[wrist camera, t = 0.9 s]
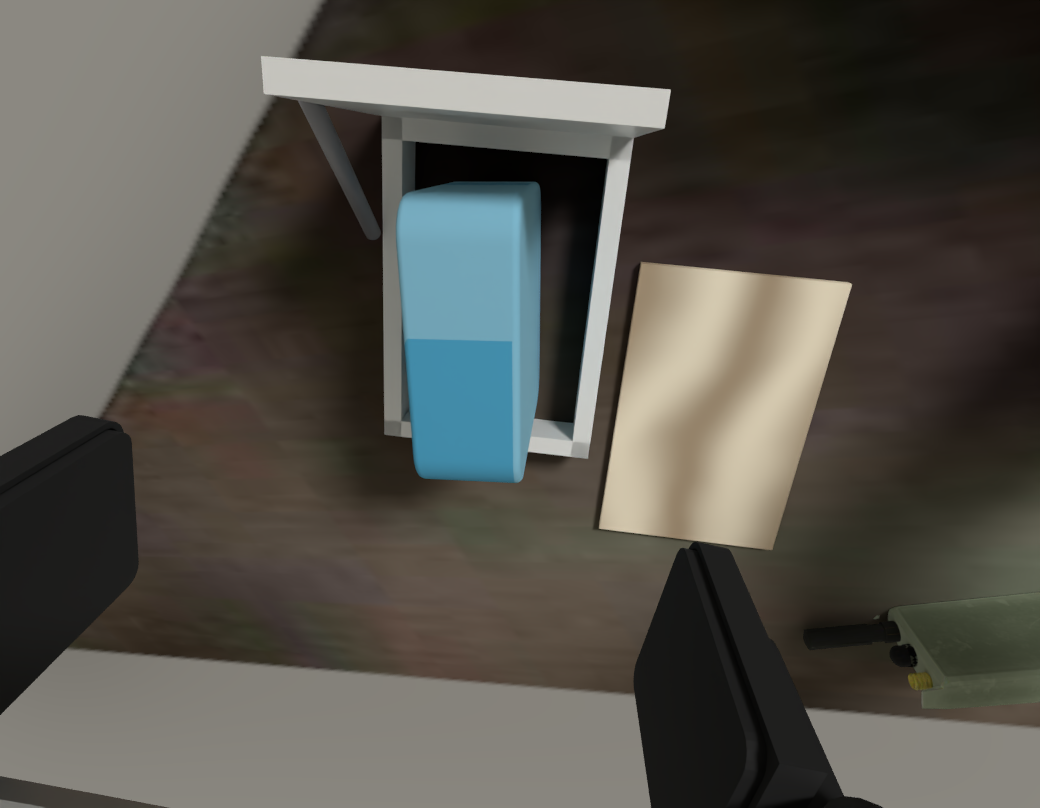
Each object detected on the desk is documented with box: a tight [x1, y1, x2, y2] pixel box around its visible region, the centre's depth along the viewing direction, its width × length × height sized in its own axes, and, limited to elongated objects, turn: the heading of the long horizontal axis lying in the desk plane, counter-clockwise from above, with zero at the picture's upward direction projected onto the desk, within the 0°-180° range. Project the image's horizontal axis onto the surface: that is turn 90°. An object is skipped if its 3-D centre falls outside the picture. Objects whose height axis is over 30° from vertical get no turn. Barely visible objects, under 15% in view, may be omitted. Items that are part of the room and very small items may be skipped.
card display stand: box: [261, 56, 671, 459], centre depth 27 cm, size 13×18×14 cm
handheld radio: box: [803, 592, 1040, 709], centre depth 36 cm, size 7×3×25 cm
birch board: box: [599, 262, 852, 550], centre depth 35 cm, size 11×17×1 cm, turn 175°
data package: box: [396, 182, 541, 483], centre depth 28 cm, size 12×4×12 cm, turn 0°
